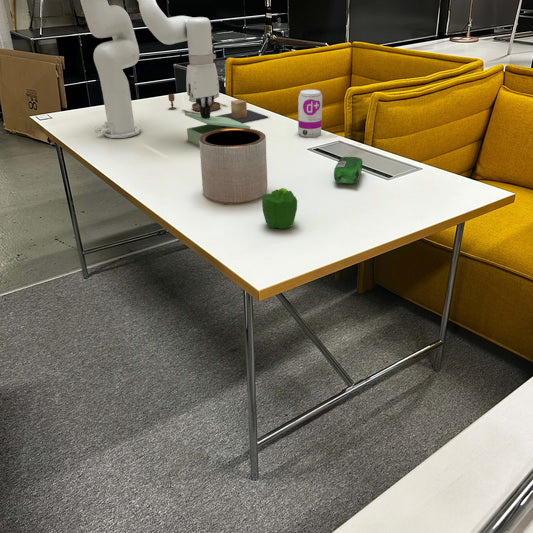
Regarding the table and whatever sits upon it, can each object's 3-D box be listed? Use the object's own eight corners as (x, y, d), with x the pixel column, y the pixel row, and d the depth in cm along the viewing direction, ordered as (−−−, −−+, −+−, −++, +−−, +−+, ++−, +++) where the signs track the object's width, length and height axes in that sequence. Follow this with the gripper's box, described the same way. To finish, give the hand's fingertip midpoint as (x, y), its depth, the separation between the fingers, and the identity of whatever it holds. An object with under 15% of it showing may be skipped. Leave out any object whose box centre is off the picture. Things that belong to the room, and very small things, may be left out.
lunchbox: (209, 152, 184) (208, 138, 182) (188, 142, 194) (186, 128, 192) (250, 142, 192) (250, 128, 190) (228, 133, 203) (227, 120, 200)
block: (237, 118, 218) (237, 103, 215) (231, 116, 221) (230, 101, 218) (247, 116, 220) (246, 101, 217) (240, 114, 223) (240, 99, 220)
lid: (206, 124, 179) (207, 121, 179) (184, 115, 190) (185, 112, 189) (250, 128, 190) (250, 126, 190) (227, 119, 200) (227, 117, 200)
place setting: (204, 115, 225) (202, 100, 222) (167, 109, 235) (165, 95, 232) (229, 106, 238) (229, 91, 235) (193, 100, 247) (192, 87, 244)
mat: (229, 125, 211) (229, 124, 211) (210, 118, 221) (210, 117, 221) (267, 117, 220) (267, 116, 220) (247, 110, 230) (247, 109, 230)
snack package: (330, 188, 155) (331, 170, 152) (339, 168, 168) (340, 152, 165) (356, 190, 153) (357, 172, 150) (363, 170, 166) (364, 154, 163)
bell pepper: (259, 220, 137) (258, 181, 132) (291, 216, 139) (291, 178, 134) (267, 234, 130) (266, 195, 125) (300, 230, 132) (301, 191, 127)
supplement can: (321, 137, 196) (323, 94, 188) (298, 137, 196) (298, 94, 188) (320, 131, 203) (321, 88, 195) (297, 131, 203) (298, 89, 195)
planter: (244, 210, 142) (241, 151, 135) (189, 197, 151) (184, 140, 143) (279, 188, 155) (279, 132, 148) (227, 177, 164) (224, 124, 156)
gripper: (215, 55, 184) (218, 111, 193) (174, 61, 176) (180, 119, 185) (227, 58, 178) (230, 115, 187) (186, 64, 171) (191, 123, 180)
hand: (205, 117), depth 186 cm, fingers closed
